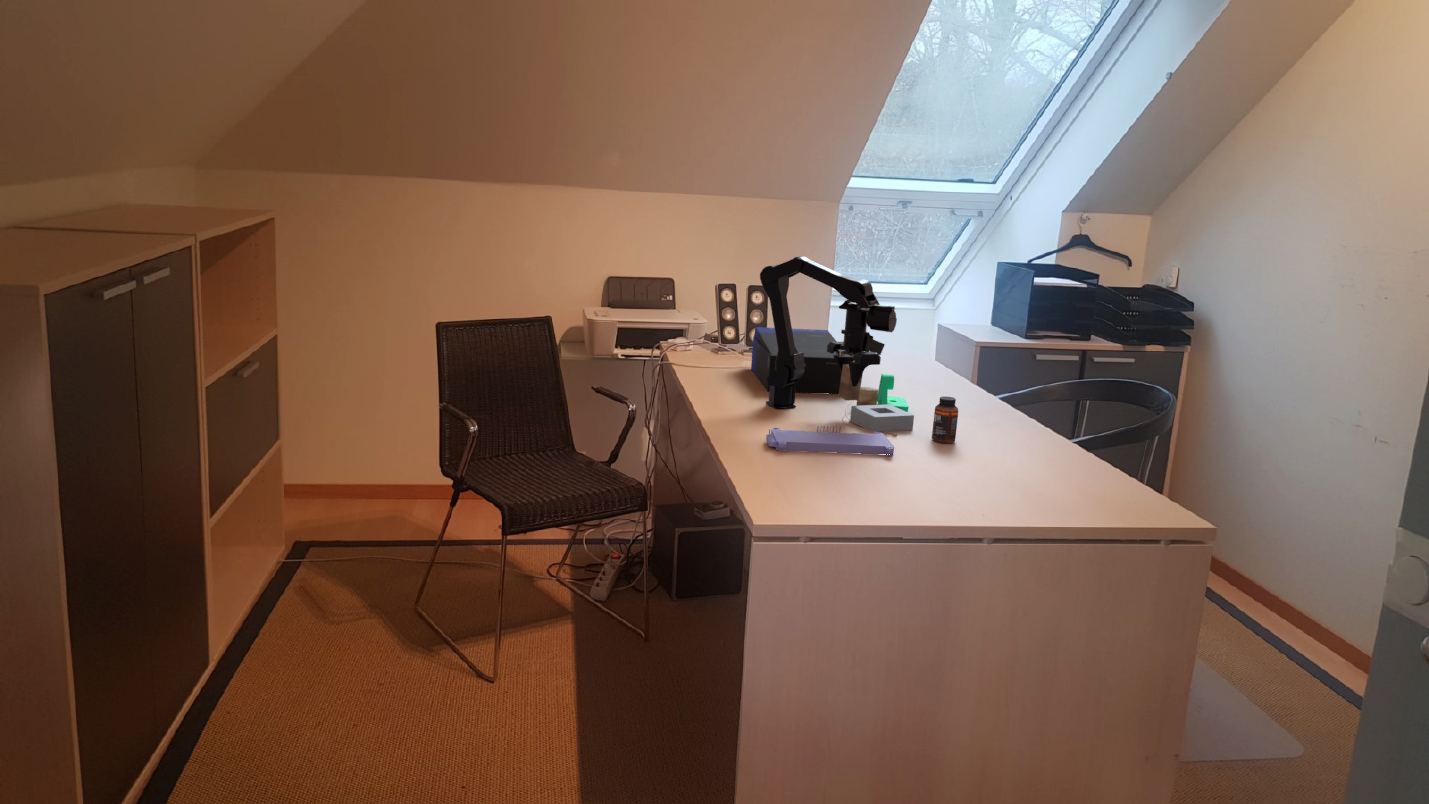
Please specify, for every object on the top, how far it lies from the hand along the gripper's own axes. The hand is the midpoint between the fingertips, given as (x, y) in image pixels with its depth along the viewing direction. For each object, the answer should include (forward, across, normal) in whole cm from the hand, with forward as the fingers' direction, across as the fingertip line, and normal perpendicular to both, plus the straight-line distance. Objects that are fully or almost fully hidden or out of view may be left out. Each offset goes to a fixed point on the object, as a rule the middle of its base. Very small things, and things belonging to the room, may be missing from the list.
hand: (850, 384), depth 283 cm
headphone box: (+10, +46, -9) cm, 48 cm away
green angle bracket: (+10, +8, -19) cm, 23 cm away
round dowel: (+10, +8, -11) cm, 17 cm away
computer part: (+10, -24, +19) cm, 33 cm away
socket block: (+10, -8, -6) cm, 14 cm away
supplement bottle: (+10, -25, -14) cm, 30 cm away
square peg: (+4, 0, 0) cm, 4 cm away
